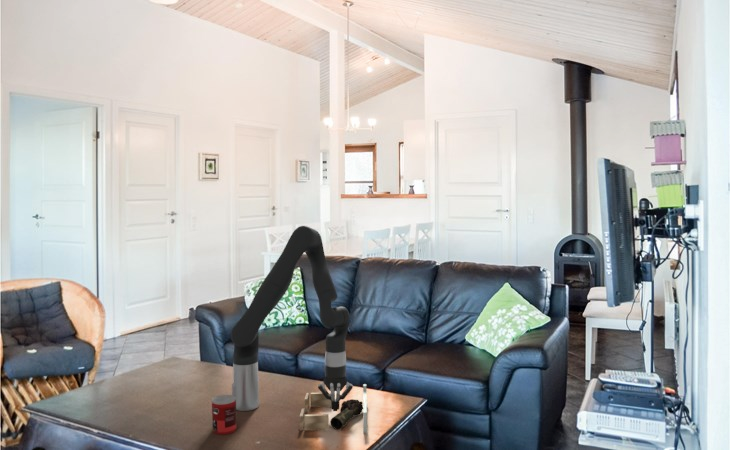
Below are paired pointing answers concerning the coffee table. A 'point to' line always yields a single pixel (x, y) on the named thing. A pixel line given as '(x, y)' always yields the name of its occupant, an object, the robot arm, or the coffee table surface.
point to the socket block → (315, 419)
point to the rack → (364, 408)
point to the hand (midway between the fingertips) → (335, 410)
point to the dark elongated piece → (346, 413)
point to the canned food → (224, 414)
